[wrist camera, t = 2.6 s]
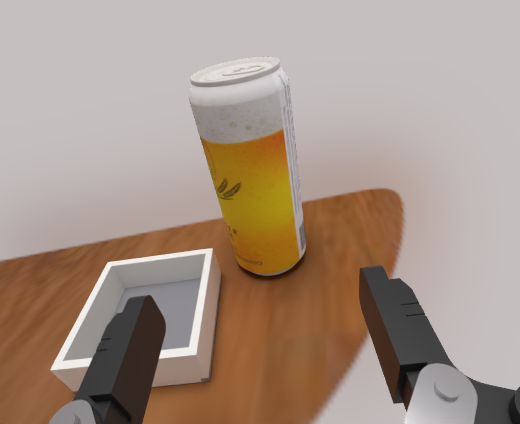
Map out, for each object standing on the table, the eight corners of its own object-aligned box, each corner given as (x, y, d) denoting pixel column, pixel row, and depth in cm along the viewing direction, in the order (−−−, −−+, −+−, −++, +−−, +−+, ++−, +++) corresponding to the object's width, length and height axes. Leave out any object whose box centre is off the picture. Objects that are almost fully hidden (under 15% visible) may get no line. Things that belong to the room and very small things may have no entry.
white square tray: (76, 394, 19) (49, 370, 18) (123, 287, 26) (107, 262, 25) (210, 381, 19) (196, 354, 17) (222, 274, 26) (212, 248, 24)
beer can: (242, 232, 30) (199, 64, 21) (306, 229, 29) (288, 50, 20) (230, 282, 25) (168, 90, 16) (307, 280, 24) (284, 72, 15)
